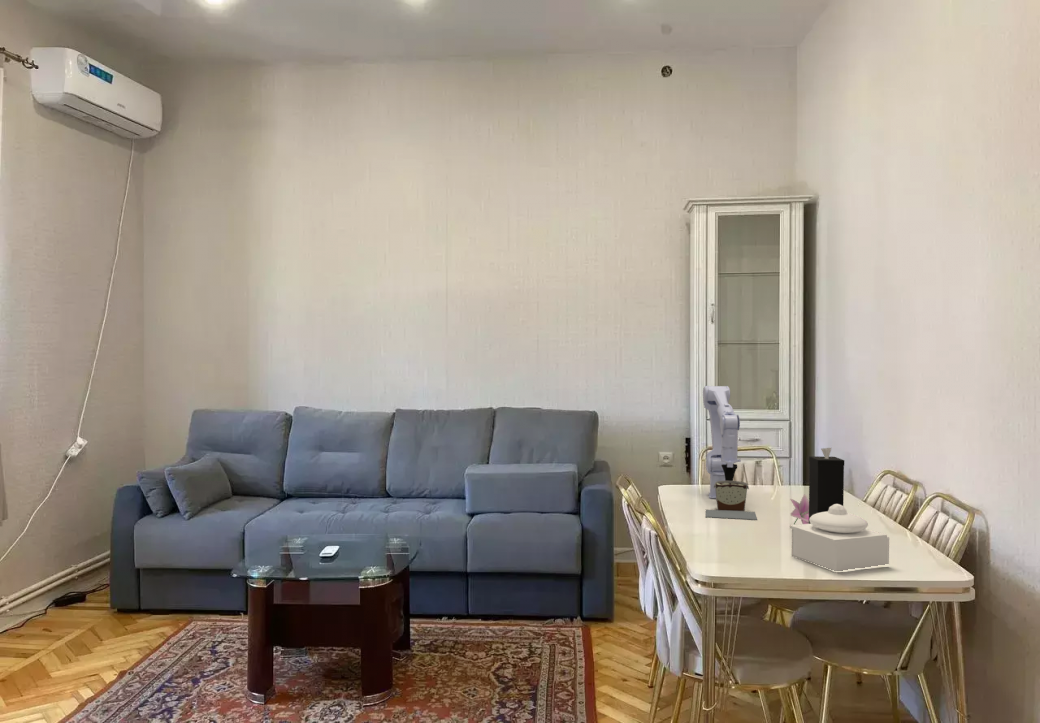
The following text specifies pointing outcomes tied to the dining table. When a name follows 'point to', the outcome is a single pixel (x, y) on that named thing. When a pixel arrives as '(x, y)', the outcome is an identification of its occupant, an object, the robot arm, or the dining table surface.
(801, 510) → the lily
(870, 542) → the butter dish
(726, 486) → the food container
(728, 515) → the mat
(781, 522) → the dining table surface
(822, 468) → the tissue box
